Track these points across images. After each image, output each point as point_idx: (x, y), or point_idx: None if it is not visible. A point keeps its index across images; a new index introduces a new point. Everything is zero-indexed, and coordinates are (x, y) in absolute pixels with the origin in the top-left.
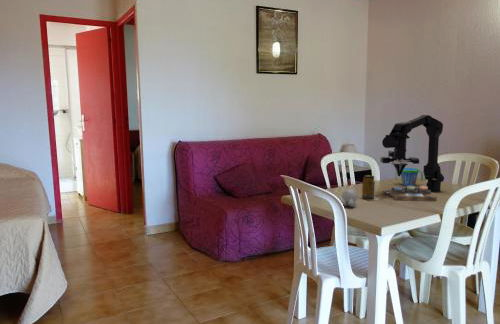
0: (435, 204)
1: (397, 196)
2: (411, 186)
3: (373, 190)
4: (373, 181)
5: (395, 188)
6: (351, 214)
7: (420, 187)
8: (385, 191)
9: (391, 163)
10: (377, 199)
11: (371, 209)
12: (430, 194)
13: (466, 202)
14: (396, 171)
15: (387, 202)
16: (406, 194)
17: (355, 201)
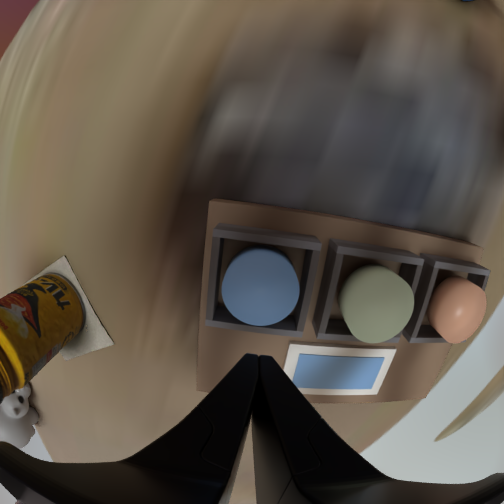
0: (366, 434)
1: (205, 390)
2: (382, 319)
3: (54, 355)
4: (18, 386)
5: (225, 304)
6: (50, 455)
7: (439, 323)
8: (226, 83)
9: (8, 468)
10: (101, 345)
11: (86, 448)
12: None
13: (494, 381)
14: (211, 395)
15: (144, 401)
16: (284, 369)
17: (28, 405)
